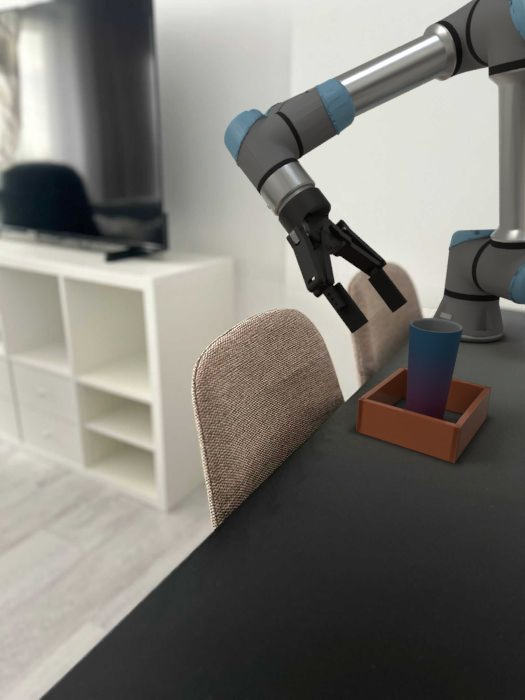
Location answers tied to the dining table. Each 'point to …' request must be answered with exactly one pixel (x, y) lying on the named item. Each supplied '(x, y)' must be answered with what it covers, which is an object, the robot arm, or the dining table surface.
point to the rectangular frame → (423, 417)
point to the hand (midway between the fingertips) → (381, 316)
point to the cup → (431, 364)
